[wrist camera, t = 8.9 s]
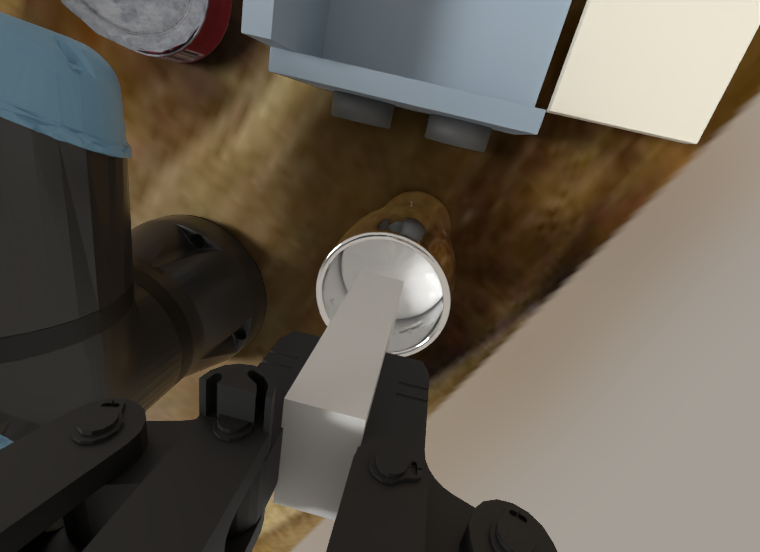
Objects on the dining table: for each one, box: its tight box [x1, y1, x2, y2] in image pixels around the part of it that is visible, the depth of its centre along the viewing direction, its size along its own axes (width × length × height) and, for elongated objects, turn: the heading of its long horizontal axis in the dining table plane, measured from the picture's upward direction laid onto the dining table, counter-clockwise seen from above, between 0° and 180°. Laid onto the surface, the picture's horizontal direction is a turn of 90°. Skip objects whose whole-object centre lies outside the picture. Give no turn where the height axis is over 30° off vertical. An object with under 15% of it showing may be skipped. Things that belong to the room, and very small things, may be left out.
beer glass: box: [315, 191, 456, 357], centre depth 25 cm, size 7×7×15 cm
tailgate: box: [547, 0, 760, 144], centre depth 20 cm, size 2×10×8 cm
